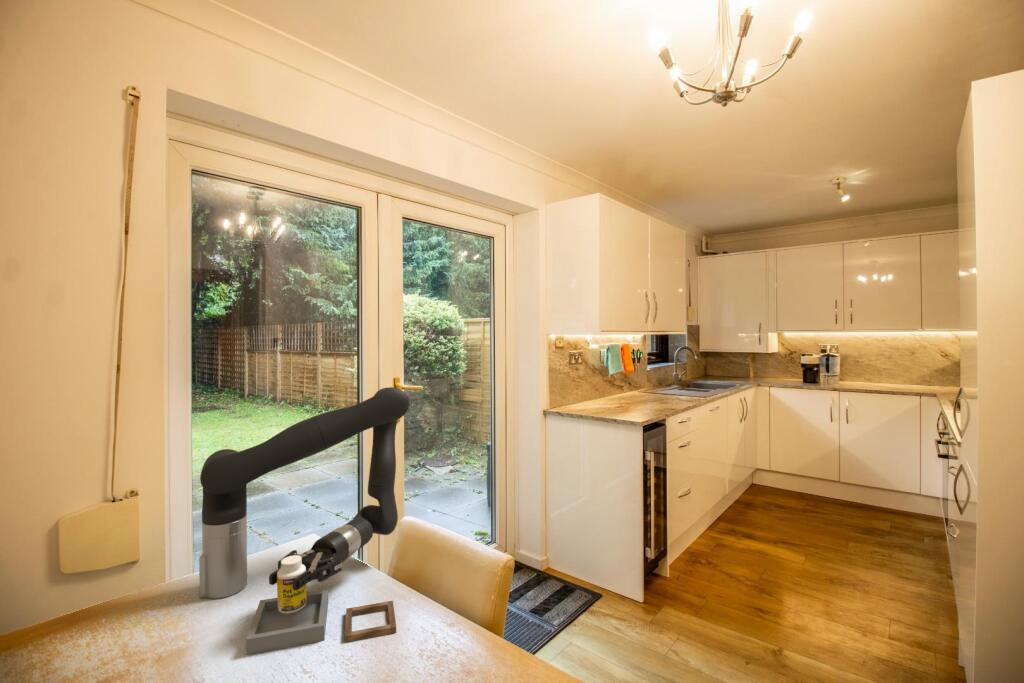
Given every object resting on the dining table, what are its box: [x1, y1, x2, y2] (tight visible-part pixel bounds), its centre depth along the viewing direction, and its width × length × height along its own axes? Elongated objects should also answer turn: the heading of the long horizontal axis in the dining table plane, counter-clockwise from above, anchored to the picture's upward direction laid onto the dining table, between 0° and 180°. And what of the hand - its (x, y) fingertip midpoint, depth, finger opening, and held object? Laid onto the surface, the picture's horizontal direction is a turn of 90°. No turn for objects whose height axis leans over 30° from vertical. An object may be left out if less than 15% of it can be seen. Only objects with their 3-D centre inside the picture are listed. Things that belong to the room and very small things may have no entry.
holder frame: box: [344, 600, 397, 643], centre depth 101 cm, size 10×10×1 cm
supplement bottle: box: [276, 555, 307, 614], centre depth 99 cm, size 6×6×10 cm
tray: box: [245, 589, 329, 656], centre depth 99 cm, size 14×14×3 cm
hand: (282, 582), depth 97 cm, fingers closed on supplement bottle, 5 cm apart
